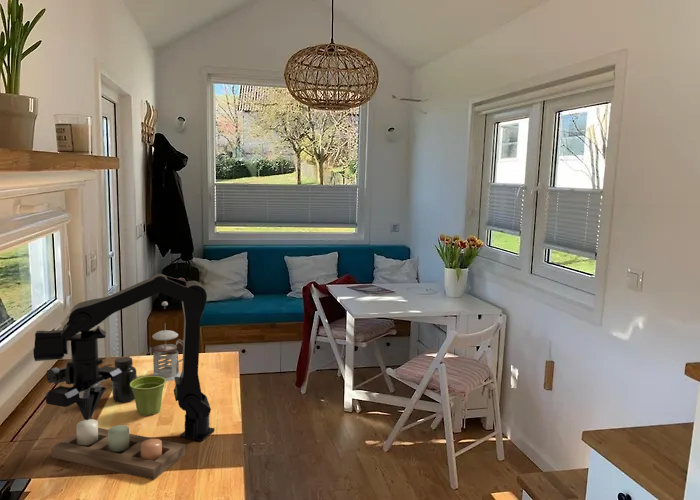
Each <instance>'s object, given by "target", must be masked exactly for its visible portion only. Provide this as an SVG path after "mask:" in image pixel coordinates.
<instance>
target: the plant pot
mask: <svg viewBox="0 0 700 500" xmlns="http://www.w3.org/2000/svg"><path fill="white" fill-rule="evenodd" d="M166 382H167V381H166V379H165V378H163V377H159V376H151V375H146V376H141V377H137V379H135V380H133V381H132V382H131V383H130V387H131V388H132V391H133V393H134V397H135V399H134V401H135V406H136V407H135V408H136V412H137V414H138V415H140V416H142V417H144V416H145V417H147V416H150V415H157V414H158V413H160V411H161V408H162V399H163V391H164V389H165V384H166Z"/></svg>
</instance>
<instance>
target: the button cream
mask: <svg viewBox="0 0 700 500" xmlns="http://www.w3.org/2000/svg"><path fill="white" fill-rule="evenodd" d="M98 422H99V421H98V419H93V418H90V419H89V420H85V419H83V420H80V421H79V422H77V423H76V433H77V443H78V444H79V445H81V446H90V445H91V446H92V445H94V444H95V443H96V442H97V441H98V428H99V423H98Z"/></svg>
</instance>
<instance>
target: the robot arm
mask: <svg viewBox="0 0 700 500" xmlns="http://www.w3.org/2000/svg"><path fill="white" fill-rule="evenodd" d="M158 294H163V295H165V296H168V297H170V298H173V299H176V300H177V301H180V302H181V304H182V305H181V307H182V311H183V318H184V321H183V339H182V341H183V342H182V344H183V346H182V359H183V360H182V364H181V365H182V367H181V368H182V369H181V372H180V373H181V375H180V377H174V378H175V380H174V386H175V387H174V389H173V396H174V399H175V401H176V402H177V404H178V407H179V408H180V409H181V410H182V411H184V412H185V414H184V431H183V432H181V433H180V434H179V437H180V438H183V439H189V440H193V441H199V442H202V441H204V440H205V439H206V438H207V437H209V436H210V435H211V434H212V433H214V432H215V428H214V427H210V413H211V411H212V408H211V406H210V403H209V399H208V397H207V395H206V394H204V393H203V392H202V389H201V383H200V377H199V362H200V361H199V359H200V358H199V357H200V341H201V340H200V338H201V337H200V335H201V320H202V317H203V314H204V312H205V307H206V303H207V300H208V299H207V298H208V296H207V291H206V289H205V288H204V286H203V284H202V283H200V282H199V281H196V280H188V281H186V280H182V279H180V278H179V279H178V278H175V277H172V276H167V275H165V274H163V273H157V274H154V275H153V276H151V277H149V278H147V279H145V280H142V281H139V282H138V283H136V284H133V285H131V286H129V287H126V288H124V289H122V290H119V291H117V292H115V293H112V294H111V295H108V296H104V297H99V298H93V299H89V300H84V301H81V302H78V303H76V304H75V305H74V306H73V307H72V308H71V311H70V314H69V317H68V320H67V322H66V323H65V324H64V325H63V327H62V329H59V330H58V329H57V330H36V332H35V334H34V345H33V346H34V347H33V359H34V361H35V362H42V361H54V360H63V359H64V357H65V355H68V354H69V342H70V351H71V357H70V358H71V360H70V361H68V362H67V363H66V366H62V367H60V368H58V367H57V366H56V367H52V368H49V369H48V370H46V374H45V375H46V380H47V382H48V383H49V384H52V383H53V384H54V385H56V386H57V385H59V384H61V383H64V382H65V384H66V385H72V386H71V387H68V386H63V385H60V386H57V387H54V388H53V389H51V390H49V391H47V393H45V404H47V405H52V406H57V407H62V408H66V407H70V406H72V405H74V404H76V405H77V407H78V409H79V411H80V413H81V415H82V417H83V420H89V419H92V416H93V414H94V412H95V410H96V408H97V406H98V404H99V402H100V400H101V398H102V396H103V395H104V393H105V392H106V390H107V388H106V387H104V386H103V384H102V382H105V381H106V380H109V379H110V381H111V383H112V382H114V383H116V382H118V381H120V380H121V379H122V371H121V370H120V369H119V368H115V366H106V365H103V366H102V367H100V365H101V364H103V358H100V357H99V345H98V343H99V341H98V340H99V339H105V338H107V337H106V335H107V332H106V330H103V329H102V328H101V327H100V324H101V323H103V322H104V321H105V320H106V319H107V318H109V317H110V316H112V315H113V314H115V313H117V312H119V311H121V310H124V309H126V308H129V307H130V306H133V305H135V304H137V303H139V302H141V301H143V300H146V299H148V298H150V297H153V296H155V295H158ZM94 327H95V329H93V328H94ZM99 367H100V368H99Z"/></svg>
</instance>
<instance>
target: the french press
mask: <svg viewBox="0 0 700 500" xmlns="http://www.w3.org/2000/svg"><path fill="white" fill-rule="evenodd" d="M168 305H169V303H168V301H162V302H161V306H163V307H164V308H166V307H167V306H168ZM151 337H152V338H153V340H156V341H164V344H159V345H156V346H154V347H153V349H154V351H153V354H152V357H153V358H152V360H153V361H152V362H153V373H152V374H151V375H150V376H159V377H163V378H165V379H166V382H171V381H175V378H174V377H180V375H181V372H180V369H179V368H180V366H179V365H180V364H179V363H180V362H183V358H181V359H179V350H178V346H177V345H178V344H181V346H182V347H183V340H181V339H177V340H176V341H175V344H171V343H169V344H168V343H167V341H170V340H174V339H176V338H178V337H179V333H177V332H176V331H174V330H170V329H169V330H167V329H166V324H164V330H159V331H157V332H155V333H154V334H152V336H151ZM170 352H171V353H170Z"/></svg>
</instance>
